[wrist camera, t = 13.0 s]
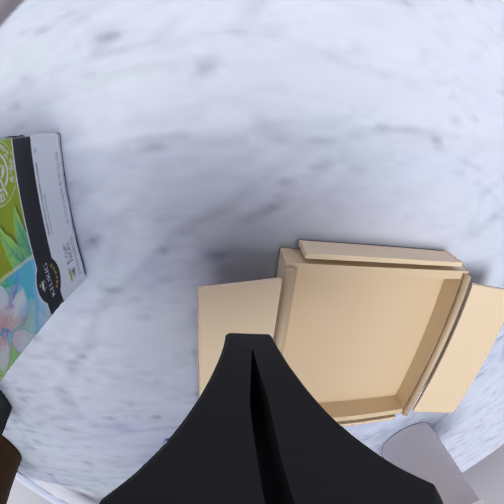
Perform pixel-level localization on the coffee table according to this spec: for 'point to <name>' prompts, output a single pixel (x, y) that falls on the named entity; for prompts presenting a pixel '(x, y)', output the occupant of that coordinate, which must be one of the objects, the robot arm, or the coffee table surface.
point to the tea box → (33, 240)
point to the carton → (365, 323)
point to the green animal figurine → (4, 412)
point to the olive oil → (7, 467)
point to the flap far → (464, 349)
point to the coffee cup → (429, 463)
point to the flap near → (233, 317)
